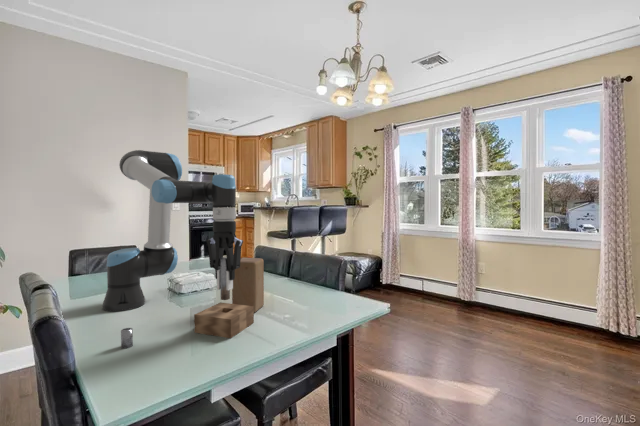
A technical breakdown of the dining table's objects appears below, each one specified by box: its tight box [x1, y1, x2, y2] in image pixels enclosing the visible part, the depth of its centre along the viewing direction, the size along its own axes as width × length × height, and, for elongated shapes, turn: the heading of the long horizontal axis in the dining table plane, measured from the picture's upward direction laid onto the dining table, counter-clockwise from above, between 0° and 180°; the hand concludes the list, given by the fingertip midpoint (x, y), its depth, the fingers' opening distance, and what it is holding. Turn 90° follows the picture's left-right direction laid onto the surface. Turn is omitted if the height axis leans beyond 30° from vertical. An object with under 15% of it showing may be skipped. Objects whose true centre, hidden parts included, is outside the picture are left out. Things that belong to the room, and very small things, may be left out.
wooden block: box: [231, 257, 265, 313], centre depth 133 cm, size 10×10×20 cm
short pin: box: [120, 327, 134, 350], centre depth 98 cm, size 3×3×5 cm
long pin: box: [220, 256, 231, 301], centre depth 112 cm, size 3×3×14 cm
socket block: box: [193, 302, 255, 339], centre depth 113 cm, size 14×14×6 cm
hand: (225, 288), depth 112 cm, fingers closed on long pin, 3 cm apart
